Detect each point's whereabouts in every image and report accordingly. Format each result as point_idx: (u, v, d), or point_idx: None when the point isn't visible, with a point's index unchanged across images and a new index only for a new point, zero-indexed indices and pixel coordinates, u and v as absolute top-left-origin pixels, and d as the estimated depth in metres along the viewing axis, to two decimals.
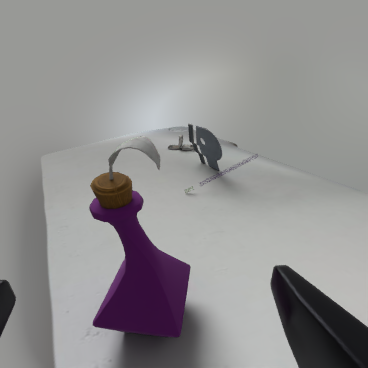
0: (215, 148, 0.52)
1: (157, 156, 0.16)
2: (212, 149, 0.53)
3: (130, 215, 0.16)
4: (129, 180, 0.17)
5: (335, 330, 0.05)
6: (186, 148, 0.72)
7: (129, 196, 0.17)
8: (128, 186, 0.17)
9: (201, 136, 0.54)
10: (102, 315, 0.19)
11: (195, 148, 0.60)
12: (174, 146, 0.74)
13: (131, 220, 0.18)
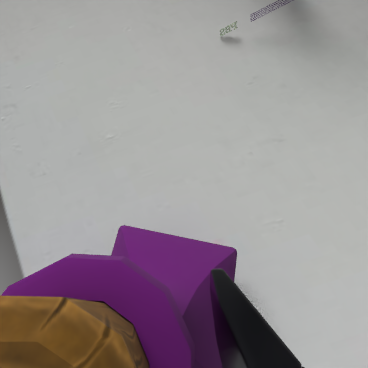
0: None
1: None
2: None
3: None
4: None
5: (242, 336, 0.05)
6: None
7: None
8: None
9: None
10: None
11: None
12: None
13: None
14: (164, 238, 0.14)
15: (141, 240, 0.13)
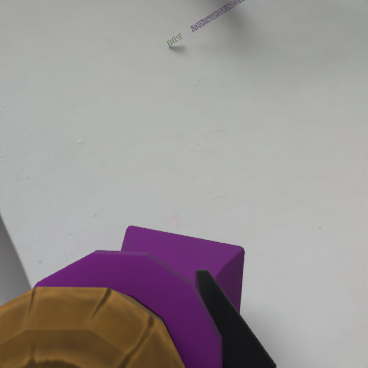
0: None
1: None
2: None
3: None
4: None
5: None
6: None
7: None
8: None
9: None
10: None
11: None
12: None
13: None
14: (172, 238, 0.14)
15: (150, 240, 0.13)
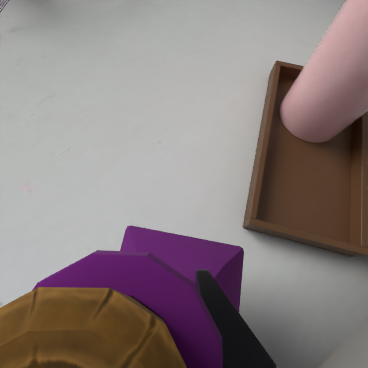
0: None
1: None
2: None
3: None
4: None
5: None
6: None
7: None
8: None
9: None
10: None
11: None
12: None
13: None
14: (171, 238, 0.14)
15: (149, 240, 0.13)
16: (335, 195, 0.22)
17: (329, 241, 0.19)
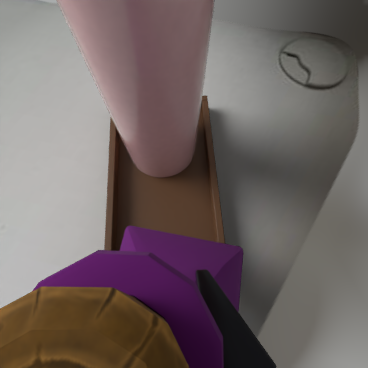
0: None
1: None
2: None
3: None
4: None
5: None
6: None
7: None
8: None
9: None
10: None
11: None
12: None
13: None
14: (171, 238, 0.14)
15: (149, 240, 0.13)
16: (198, 228, 0.21)
17: None
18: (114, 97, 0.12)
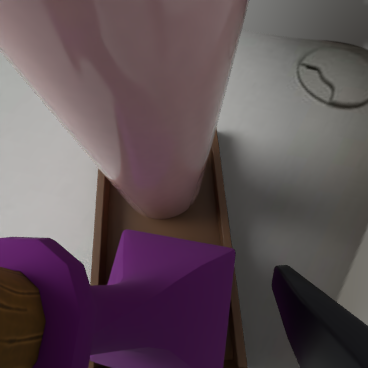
0: None
1: None
2: None
3: None
4: None
5: (337, 330, 0.05)
6: None
7: None
8: None
9: None
10: (96, 359, 0.12)
11: None
12: None
13: None
14: (161, 239, 0.14)
15: (138, 241, 0.14)
16: None
17: None
18: (90, 150, 0.09)
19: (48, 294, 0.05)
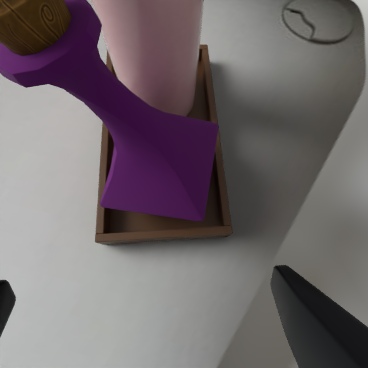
0: None
1: None
2: None
3: (72, 66, 0.07)
4: None
5: (335, 330, 0.05)
6: None
7: (55, 14, 0.07)
8: None
9: None
10: (106, 198, 0.15)
11: None
12: None
13: (87, 74, 0.09)
14: None
15: None
16: None
17: (188, 231, 0.17)
18: None
19: (73, 6, 0.08)
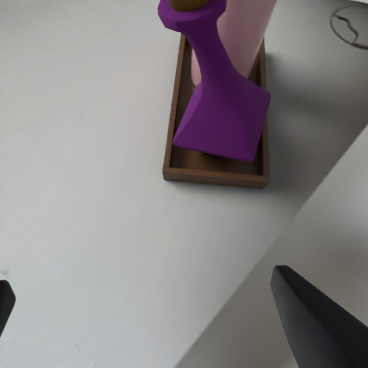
0: None
1: None
2: None
3: (211, 21, 0.12)
4: None
5: (335, 330, 0.05)
6: None
7: None
8: None
9: None
10: (180, 137, 0.20)
11: None
12: None
13: (210, 30, 0.13)
14: None
15: None
16: None
17: (235, 175, 0.22)
18: None
19: None
